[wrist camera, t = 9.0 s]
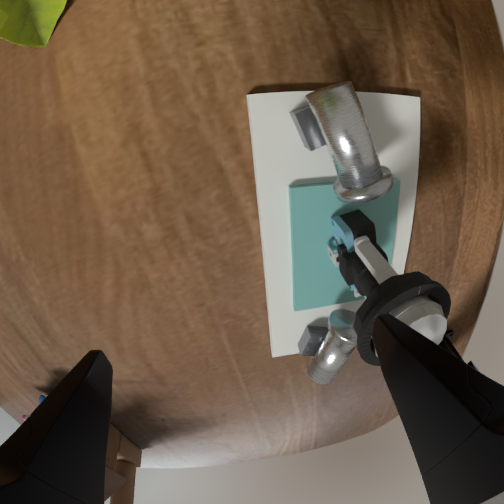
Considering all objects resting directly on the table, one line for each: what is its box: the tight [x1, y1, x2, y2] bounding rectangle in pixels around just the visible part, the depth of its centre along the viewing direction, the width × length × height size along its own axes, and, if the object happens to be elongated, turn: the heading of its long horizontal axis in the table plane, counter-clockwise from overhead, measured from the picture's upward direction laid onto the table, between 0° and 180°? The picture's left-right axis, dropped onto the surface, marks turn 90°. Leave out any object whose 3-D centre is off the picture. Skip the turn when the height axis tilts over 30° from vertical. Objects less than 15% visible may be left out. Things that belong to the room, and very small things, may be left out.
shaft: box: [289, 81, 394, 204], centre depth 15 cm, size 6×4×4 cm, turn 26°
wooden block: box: [104, 423, 142, 504], centre depth 28 cm, size 4×11×18 cm, turn 10°
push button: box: [327, 209, 451, 366], centre depth 16 cm, size 7×5×10 cm
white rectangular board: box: [246, 91, 420, 357], centre depth 21 cm, size 12×22×1 cm, turn 6°
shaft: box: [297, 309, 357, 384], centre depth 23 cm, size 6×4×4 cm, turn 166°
